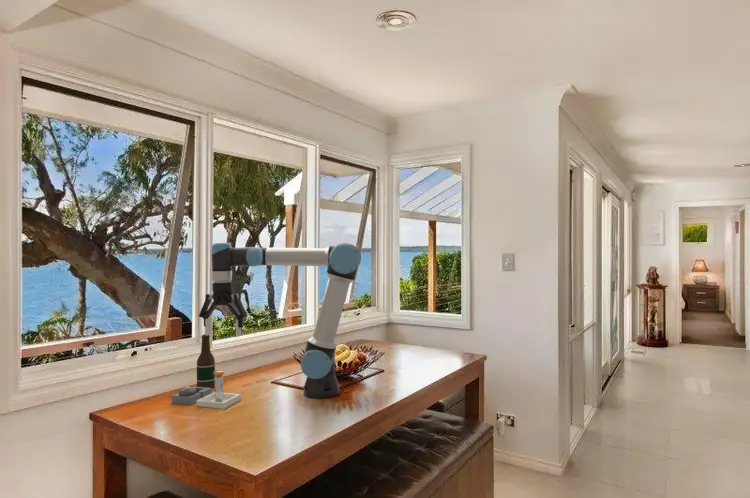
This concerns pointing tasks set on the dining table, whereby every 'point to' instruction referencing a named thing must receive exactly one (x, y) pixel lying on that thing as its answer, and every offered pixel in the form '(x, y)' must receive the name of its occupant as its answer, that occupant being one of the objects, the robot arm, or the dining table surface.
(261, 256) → the robot arm
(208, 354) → the beer bottle
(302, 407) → the dining table surface
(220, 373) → the lock pin
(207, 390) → the block
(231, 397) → the tray
